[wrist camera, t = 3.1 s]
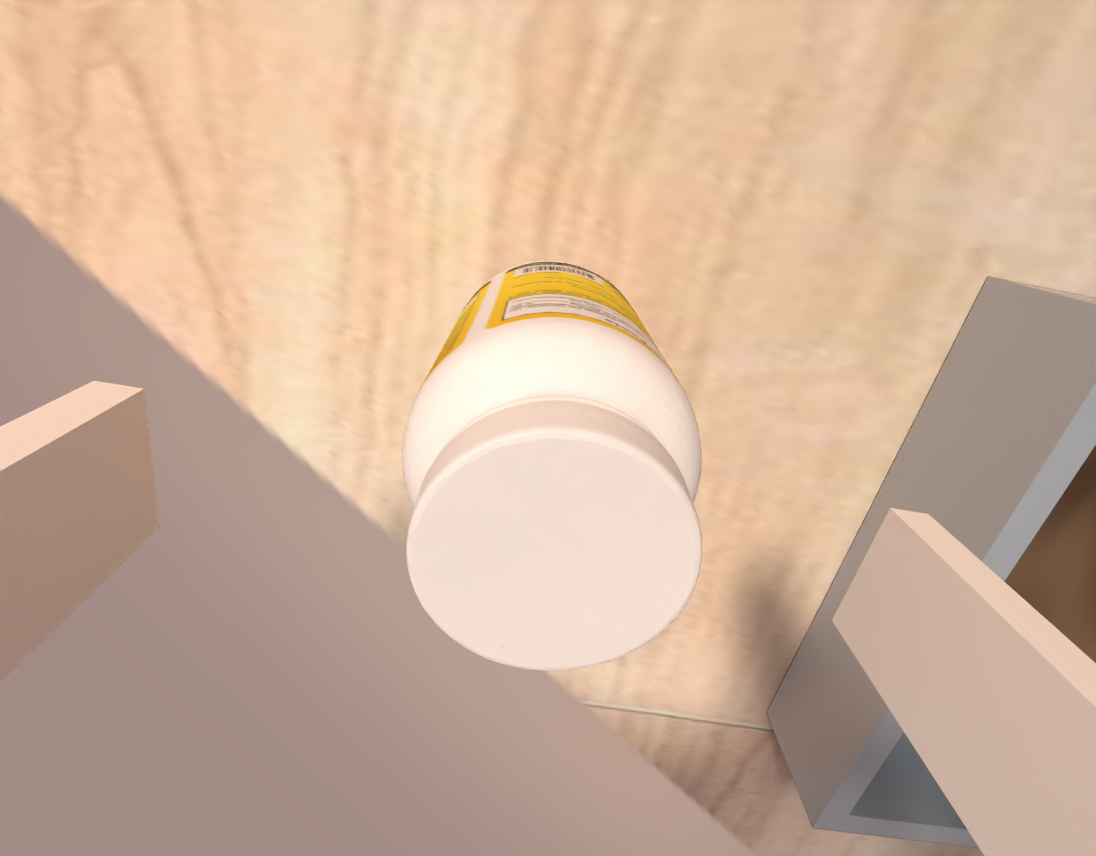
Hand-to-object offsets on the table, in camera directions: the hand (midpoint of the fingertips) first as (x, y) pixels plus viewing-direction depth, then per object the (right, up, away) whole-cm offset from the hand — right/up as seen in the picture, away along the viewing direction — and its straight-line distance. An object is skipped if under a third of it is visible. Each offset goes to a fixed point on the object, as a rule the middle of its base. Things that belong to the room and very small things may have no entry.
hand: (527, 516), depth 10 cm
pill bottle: (0, +4, +9) cm, 10 cm away
